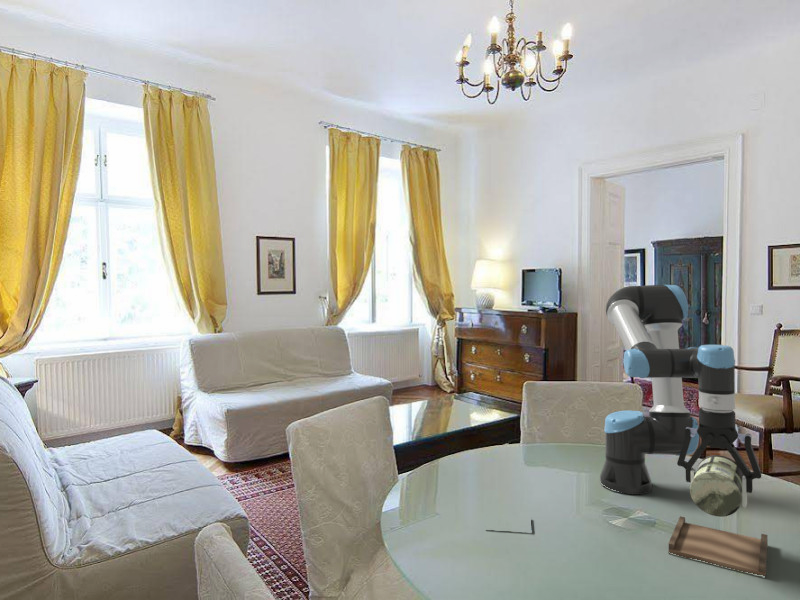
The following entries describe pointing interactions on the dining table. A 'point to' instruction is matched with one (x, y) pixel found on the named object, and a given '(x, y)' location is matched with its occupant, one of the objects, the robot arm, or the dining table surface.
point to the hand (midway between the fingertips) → (718, 500)
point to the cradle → (720, 547)
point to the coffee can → (717, 486)
